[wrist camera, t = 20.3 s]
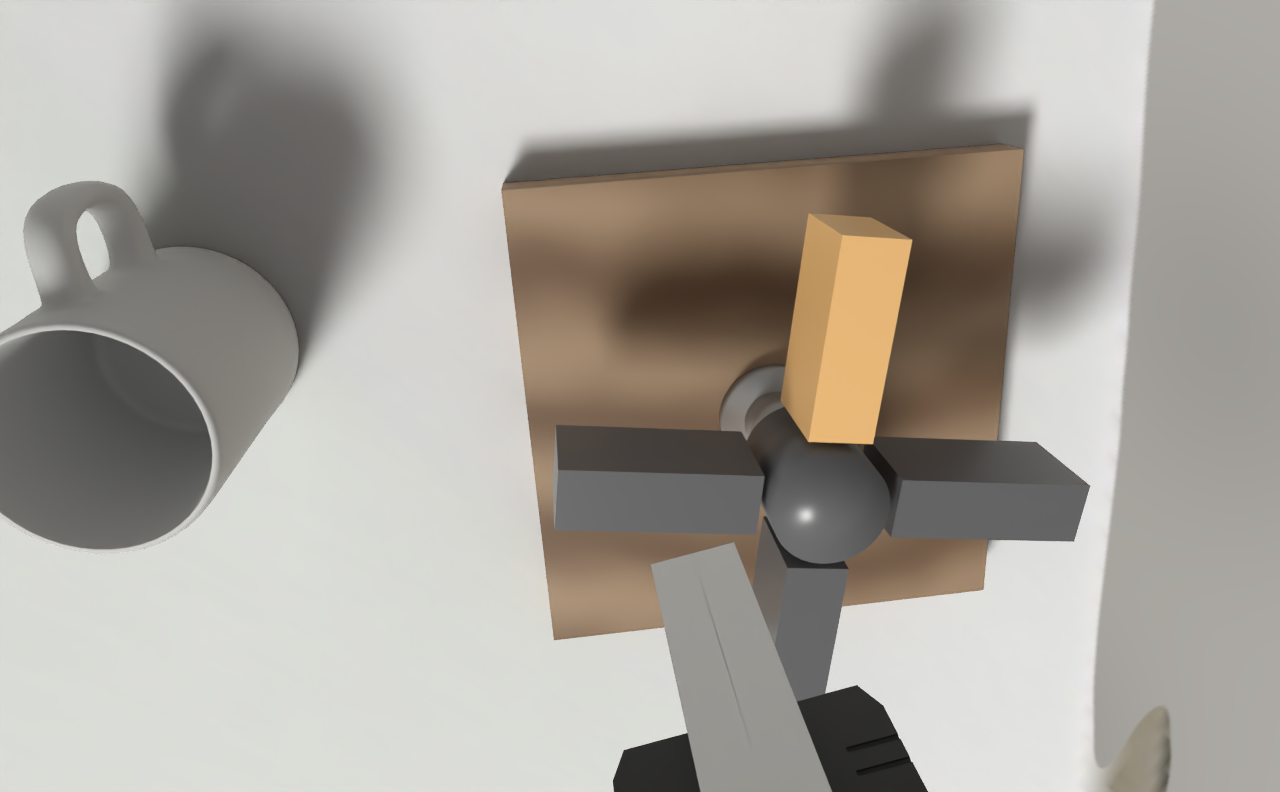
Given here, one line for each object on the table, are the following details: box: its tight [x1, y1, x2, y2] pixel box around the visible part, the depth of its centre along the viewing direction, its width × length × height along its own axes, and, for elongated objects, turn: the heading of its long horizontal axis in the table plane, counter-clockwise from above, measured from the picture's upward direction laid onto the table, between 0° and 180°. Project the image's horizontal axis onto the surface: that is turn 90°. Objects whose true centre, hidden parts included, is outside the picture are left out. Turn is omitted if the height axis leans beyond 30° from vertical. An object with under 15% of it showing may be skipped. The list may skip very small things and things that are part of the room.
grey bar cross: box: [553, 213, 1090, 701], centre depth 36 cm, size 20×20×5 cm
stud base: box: [502, 144, 1024, 640], centre depth 41 cm, size 22×22×6 cm
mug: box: [0, 181, 299, 554], centre depth 34 cm, size 12×8×11 cm
